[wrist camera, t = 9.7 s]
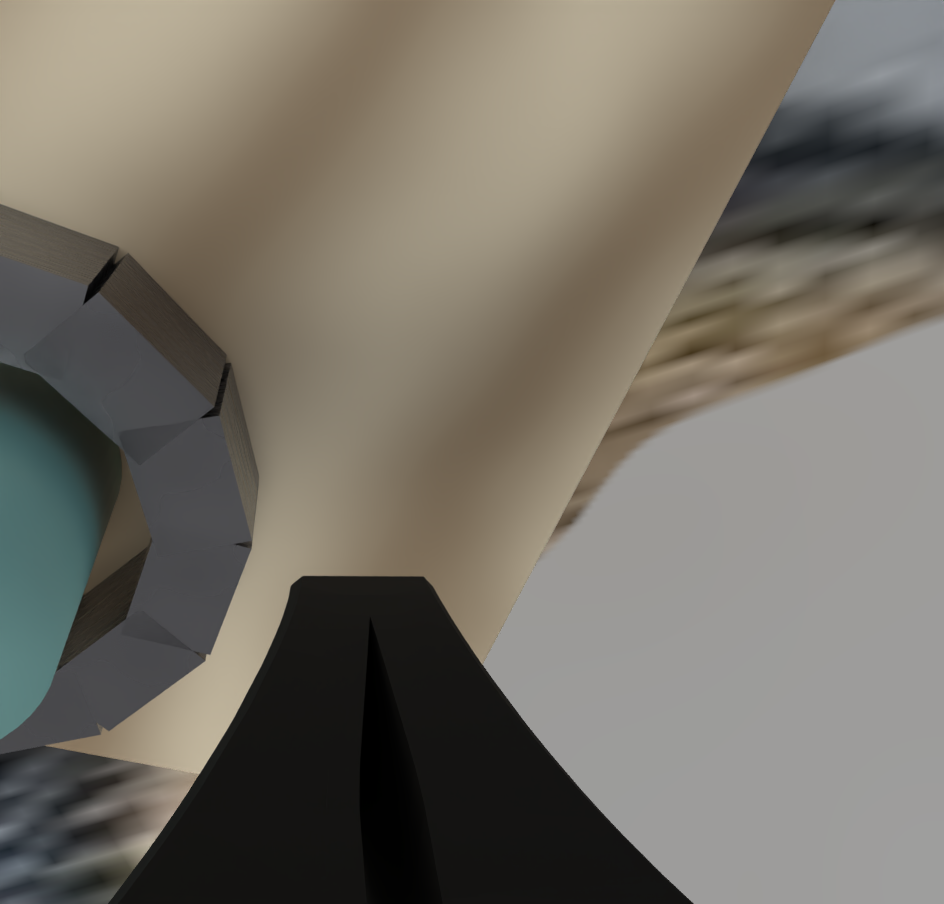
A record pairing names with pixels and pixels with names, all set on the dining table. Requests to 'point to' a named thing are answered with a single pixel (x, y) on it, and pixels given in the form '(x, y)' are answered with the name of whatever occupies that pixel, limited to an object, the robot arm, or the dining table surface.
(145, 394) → the grey faceted ring
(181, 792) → the dining table surface
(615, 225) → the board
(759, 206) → the dining table surface
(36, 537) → the cap
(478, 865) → the robot arm
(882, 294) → the dining table surface
